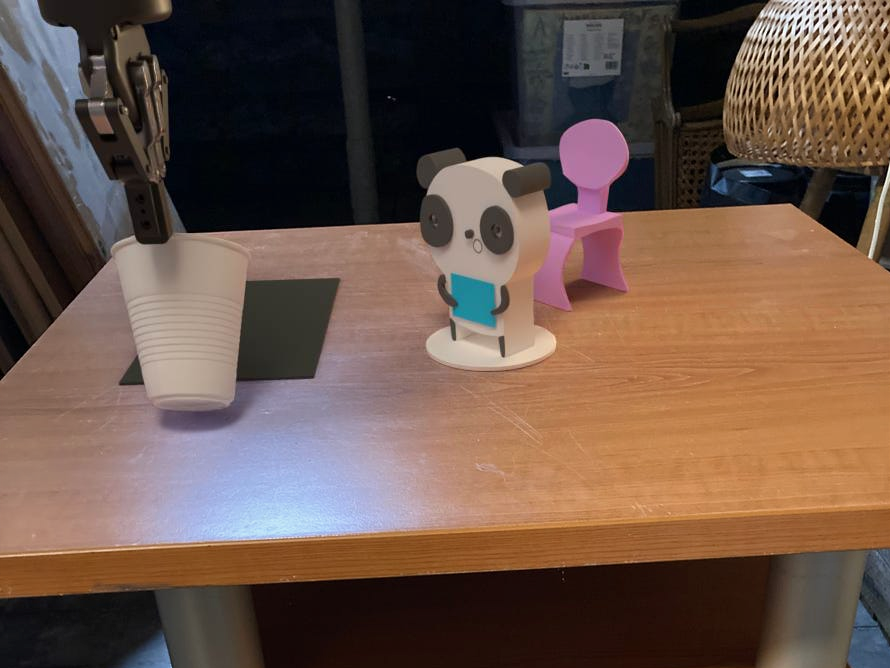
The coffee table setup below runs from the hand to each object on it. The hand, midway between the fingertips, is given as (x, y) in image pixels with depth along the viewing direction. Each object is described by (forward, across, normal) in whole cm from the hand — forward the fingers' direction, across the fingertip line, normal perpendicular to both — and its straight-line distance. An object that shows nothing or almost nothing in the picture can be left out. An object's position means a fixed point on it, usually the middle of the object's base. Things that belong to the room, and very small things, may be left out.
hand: (155, 241), depth 67 cm
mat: (+14, -22, 0) cm, 25 cm away
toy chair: (+14, -28, +32) cm, 44 cm away
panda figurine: (+14, -15, +23) cm, 30 cm away
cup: (+12, 0, 0) cm, 12 cm away
